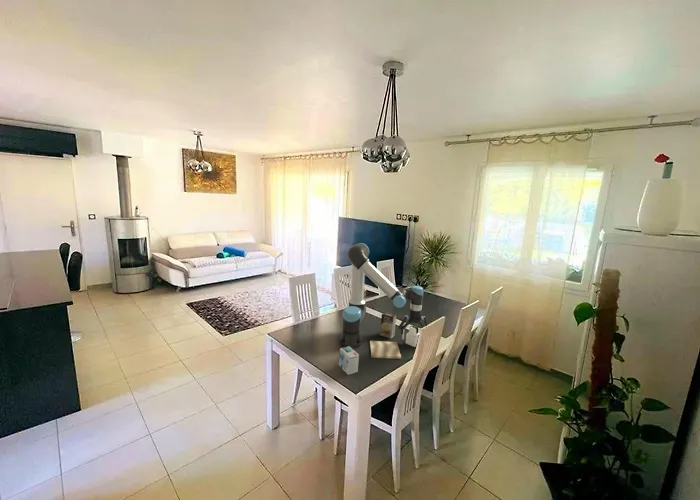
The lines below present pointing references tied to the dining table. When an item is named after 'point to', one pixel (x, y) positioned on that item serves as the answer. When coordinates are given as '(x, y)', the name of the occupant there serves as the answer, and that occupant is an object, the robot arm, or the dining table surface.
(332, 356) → the dining table surface
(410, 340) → the medicine bottle
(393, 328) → the coffee box
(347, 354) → the light bulb box
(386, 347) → the birch board
